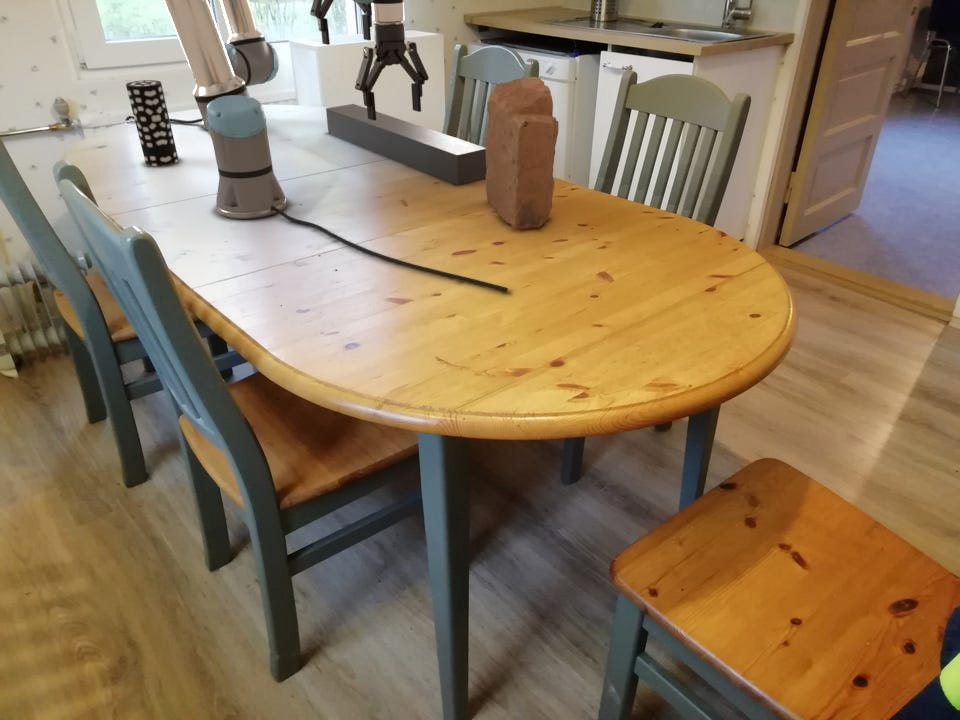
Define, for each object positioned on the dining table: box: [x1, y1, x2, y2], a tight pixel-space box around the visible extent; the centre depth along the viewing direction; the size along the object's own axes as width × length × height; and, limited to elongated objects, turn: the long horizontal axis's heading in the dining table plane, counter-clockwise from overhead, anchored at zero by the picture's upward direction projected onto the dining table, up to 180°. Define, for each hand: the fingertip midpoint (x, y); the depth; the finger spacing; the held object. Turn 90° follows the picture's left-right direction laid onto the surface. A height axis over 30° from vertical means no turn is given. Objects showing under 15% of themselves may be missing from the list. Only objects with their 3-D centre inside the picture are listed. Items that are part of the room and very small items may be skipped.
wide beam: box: [325, 103, 487, 186], centre depth 194 cm, size 63×10×8 cm, turn 41°
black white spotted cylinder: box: [125, 79, 179, 167], centre depth 181 cm, size 8×8×20 cm
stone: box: [484, 76, 560, 230], centre depth 149 cm, size 22×11×28 cm, turn 18°
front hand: (395, 115), depth 175 cm, fingers open, 13 cm apart
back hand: (347, 42), depth 197 cm, fingers open, 13 cm apart
